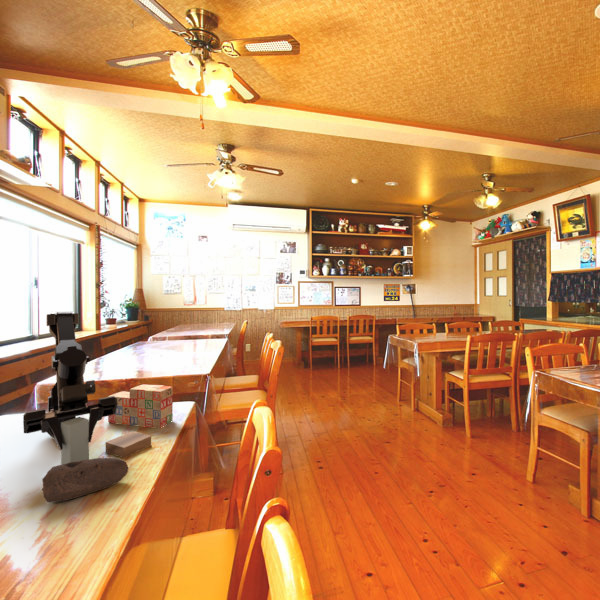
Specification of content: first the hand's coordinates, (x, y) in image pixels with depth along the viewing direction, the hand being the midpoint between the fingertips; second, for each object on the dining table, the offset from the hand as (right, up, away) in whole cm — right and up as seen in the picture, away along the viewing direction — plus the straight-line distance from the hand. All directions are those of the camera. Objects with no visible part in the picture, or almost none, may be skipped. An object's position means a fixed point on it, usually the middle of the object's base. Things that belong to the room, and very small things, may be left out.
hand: (75, 445), depth 73 cm
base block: (+5, -7, +13) cm, 16 cm away
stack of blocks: (-1, -8, +32) cm, 33 cm away
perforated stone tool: (+8, -7, -7) cm, 13 cm away
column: (-1, -7, +1) cm, 7 cm away
